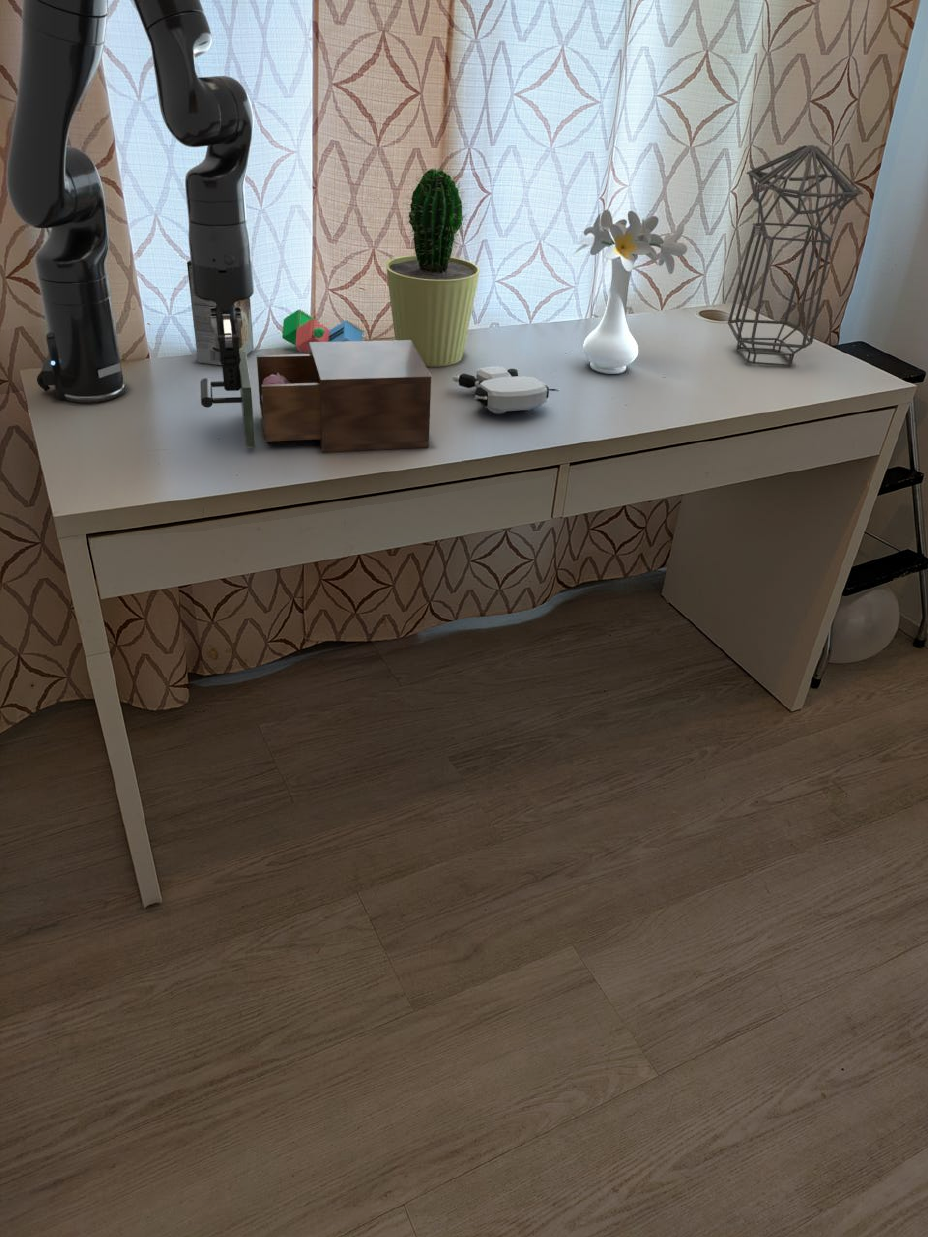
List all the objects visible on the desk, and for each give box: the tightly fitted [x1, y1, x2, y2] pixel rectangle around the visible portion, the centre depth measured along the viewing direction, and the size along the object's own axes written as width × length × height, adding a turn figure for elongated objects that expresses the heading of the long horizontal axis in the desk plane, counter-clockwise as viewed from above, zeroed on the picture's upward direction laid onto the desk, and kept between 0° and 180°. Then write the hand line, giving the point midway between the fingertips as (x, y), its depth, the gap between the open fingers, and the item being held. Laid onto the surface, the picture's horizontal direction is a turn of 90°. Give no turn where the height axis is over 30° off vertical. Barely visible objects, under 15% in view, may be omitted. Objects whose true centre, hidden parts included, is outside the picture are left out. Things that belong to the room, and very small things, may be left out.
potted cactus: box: [384, 165, 481, 368], centre depth 158 cm, size 15×15×30 cm
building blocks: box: [281, 309, 365, 354], centre depth 163 cm, size 8×8×12 cm
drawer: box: [200, 352, 322, 448], centre depth 134 cm, size 19×14×8 cm
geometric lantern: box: [727, 144, 864, 367], centre depth 165 cm, size 16×16×35 cm
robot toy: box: [452, 365, 560, 415], centre depth 150 cm, size 12×4×15 cm
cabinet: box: [309, 339, 432, 453], centre depth 137 cm, size 15×15×10 cm
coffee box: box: [186, 259, 255, 366], centre depth 156 cm, size 9×6×16 cm
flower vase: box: [572, 209, 688, 375], centre depth 160 cm, size 13×18×25 cm
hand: (232, 388), depth 132 cm, fingers closed
